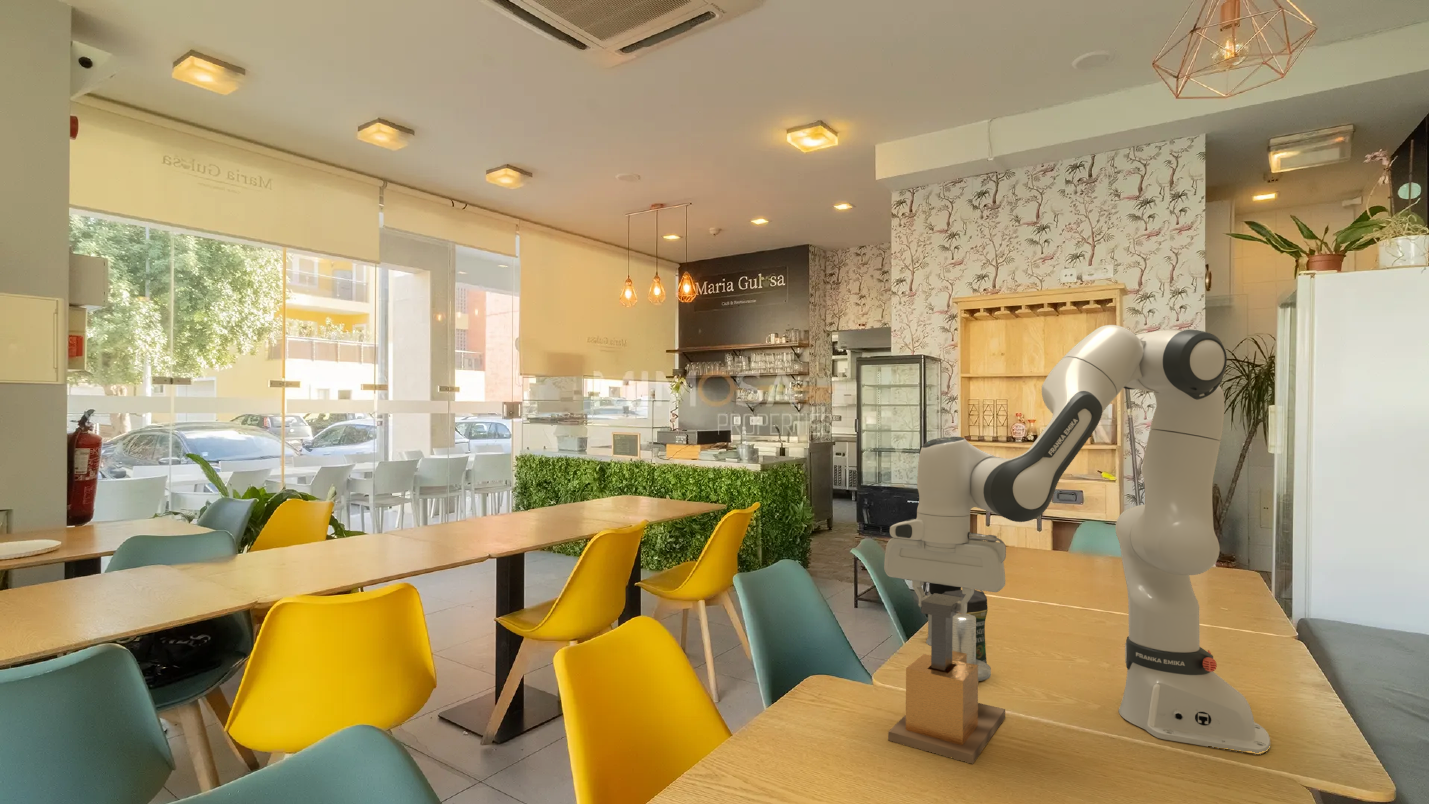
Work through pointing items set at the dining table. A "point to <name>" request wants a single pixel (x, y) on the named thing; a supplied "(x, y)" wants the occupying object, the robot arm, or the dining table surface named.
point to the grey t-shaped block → (941, 627)
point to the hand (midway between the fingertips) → (942, 609)
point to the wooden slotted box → (947, 688)
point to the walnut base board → (968, 752)
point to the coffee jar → (979, 610)
